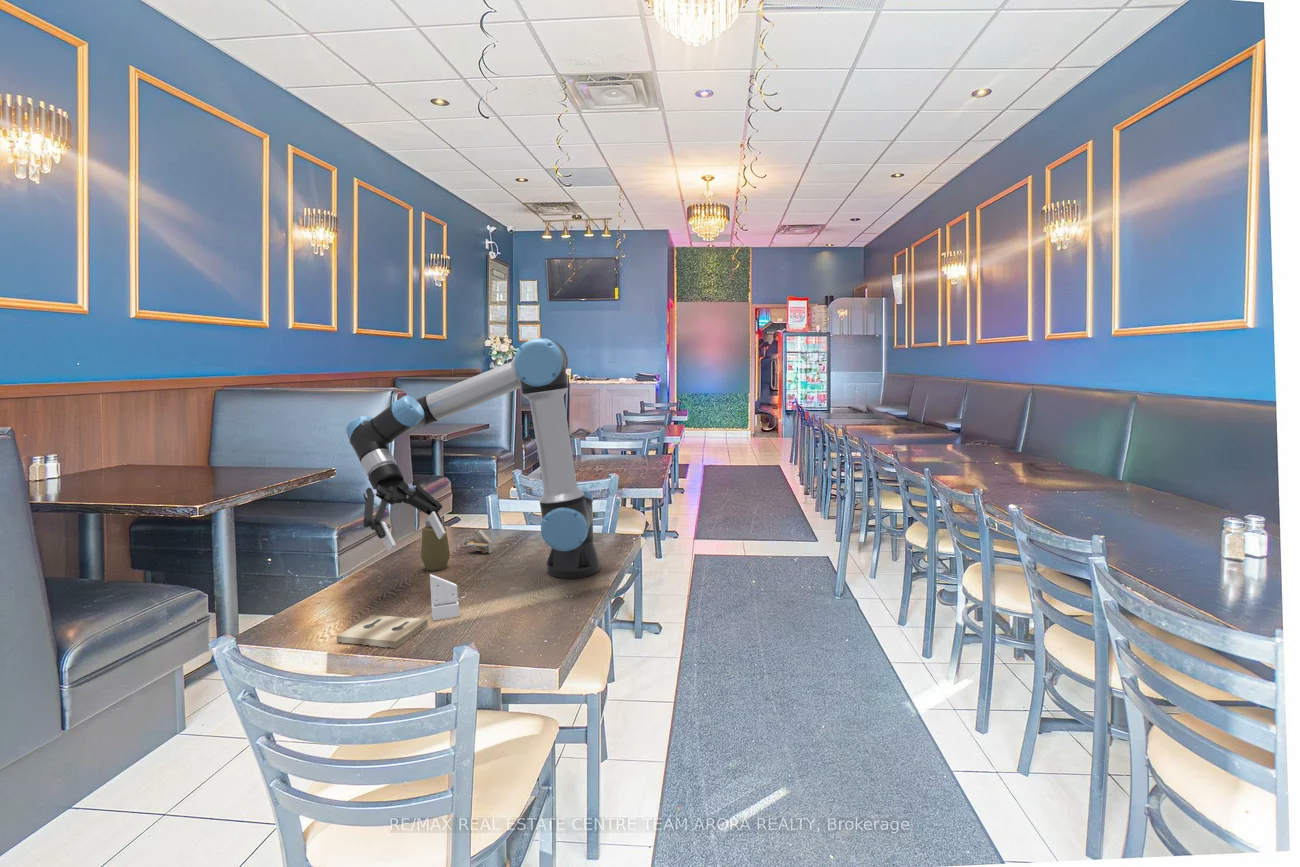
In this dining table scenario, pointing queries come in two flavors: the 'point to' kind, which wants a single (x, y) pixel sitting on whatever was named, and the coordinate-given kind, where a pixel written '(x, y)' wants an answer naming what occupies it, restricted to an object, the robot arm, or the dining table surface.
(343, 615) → the dining table surface
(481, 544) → the architectural model
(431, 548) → the squeeze bottle
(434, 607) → the white angled block
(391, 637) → the mount board
